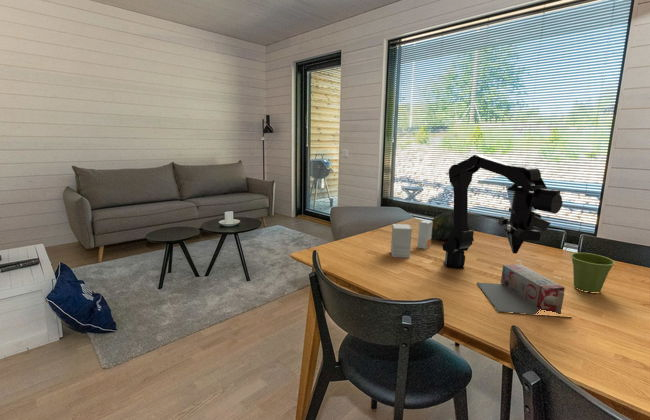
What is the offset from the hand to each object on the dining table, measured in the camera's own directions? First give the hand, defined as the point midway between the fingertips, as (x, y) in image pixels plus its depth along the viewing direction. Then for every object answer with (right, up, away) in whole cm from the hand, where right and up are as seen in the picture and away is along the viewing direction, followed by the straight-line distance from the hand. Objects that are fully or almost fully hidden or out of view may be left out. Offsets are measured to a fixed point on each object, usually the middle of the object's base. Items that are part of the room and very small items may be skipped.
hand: (514, 253), depth 113 cm
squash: (-3, 0, +58) cm, 58 cm away
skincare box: (-17, -3, +45) cm, 48 cm away
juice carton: (+2, -8, +6) cm, 10 cm away
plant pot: (+26, -13, +4) cm, 30 cm away
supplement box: (-30, -5, +34) cm, 46 cm away
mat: (-1, -14, -4) cm, 15 cm away
